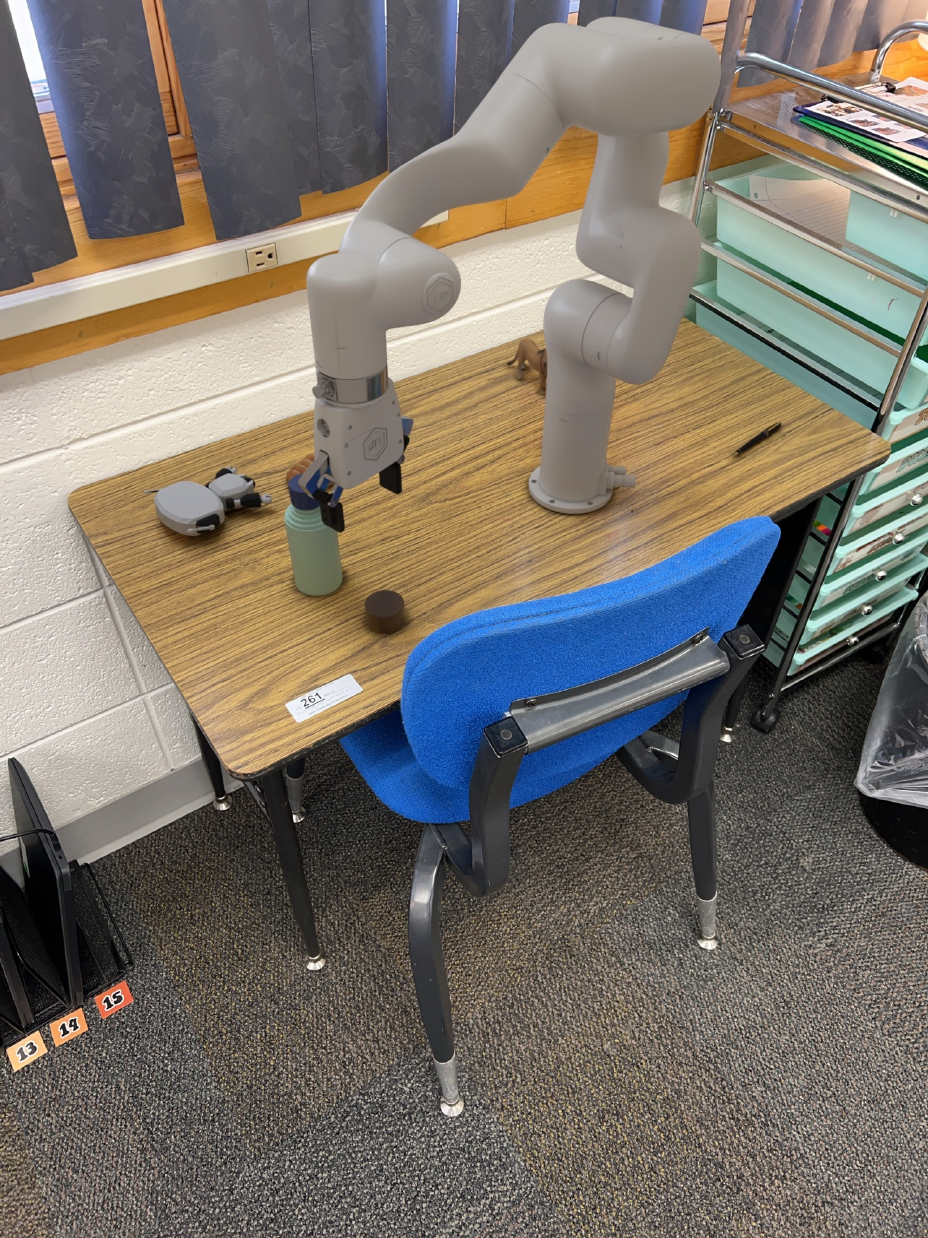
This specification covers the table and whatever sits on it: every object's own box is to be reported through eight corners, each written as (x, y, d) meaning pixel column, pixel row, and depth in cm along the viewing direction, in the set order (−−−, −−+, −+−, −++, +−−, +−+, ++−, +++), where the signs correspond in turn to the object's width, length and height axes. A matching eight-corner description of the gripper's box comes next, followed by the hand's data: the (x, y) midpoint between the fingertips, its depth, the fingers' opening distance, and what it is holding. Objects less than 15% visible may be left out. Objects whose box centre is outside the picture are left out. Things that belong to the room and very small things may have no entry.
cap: (326, 491, 115) (324, 473, 113) (320, 511, 112) (318, 493, 110) (294, 490, 115) (292, 472, 114) (288, 509, 113) (285, 491, 111)
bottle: (346, 565, 125) (335, 471, 114) (338, 597, 121) (326, 502, 110) (300, 563, 126) (285, 469, 115) (290, 594, 121) (274, 500, 110)
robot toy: (233, 480, 141) (144, 514, 133) (230, 454, 138) (138, 488, 130) (279, 516, 134) (188, 555, 126) (277, 490, 131) (183, 528, 123)
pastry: (301, 501, 136) (297, 479, 133) (277, 480, 139) (274, 459, 137) (354, 477, 140) (351, 456, 137) (329, 458, 144) (327, 437, 141)
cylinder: (407, 607, 119) (406, 590, 117) (402, 634, 116) (401, 618, 114) (369, 605, 120) (367, 588, 118) (363, 632, 116) (361, 615, 114)
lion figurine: (577, 392, 158) (582, 344, 152) (557, 403, 155) (561, 355, 149) (515, 361, 165) (518, 314, 159) (495, 371, 163) (496, 324, 157)
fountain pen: (733, 461, 143) (735, 453, 142) (727, 458, 144) (729, 450, 143) (783, 427, 151) (785, 419, 149) (777, 424, 151) (779, 416, 150)
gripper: (317, 423, 90) (332, 556, 102) (433, 358, 100) (434, 487, 112) (266, 398, 94) (287, 529, 106) (382, 337, 103) (389, 464, 115)
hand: (362, 507), depth 109 cm, fingers open, 9 cm apart
